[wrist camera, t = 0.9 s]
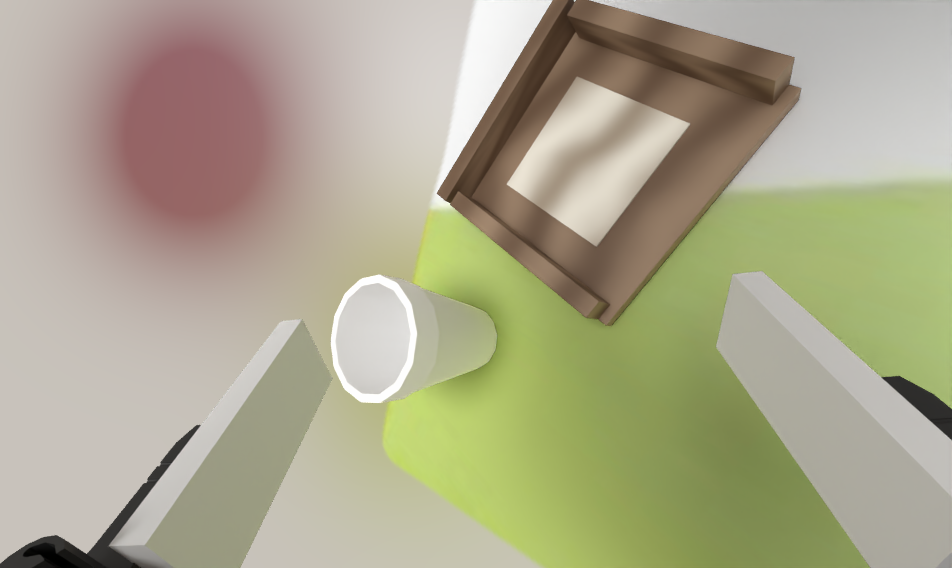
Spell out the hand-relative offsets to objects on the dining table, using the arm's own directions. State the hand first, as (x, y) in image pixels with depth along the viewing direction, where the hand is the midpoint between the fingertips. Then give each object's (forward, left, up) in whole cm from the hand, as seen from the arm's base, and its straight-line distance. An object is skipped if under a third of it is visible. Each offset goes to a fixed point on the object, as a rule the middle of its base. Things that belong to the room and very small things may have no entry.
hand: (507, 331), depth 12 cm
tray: (-3, -15, -22) cm, 26 cm away
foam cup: (+15, -7, -22) cm, 27 cm away
